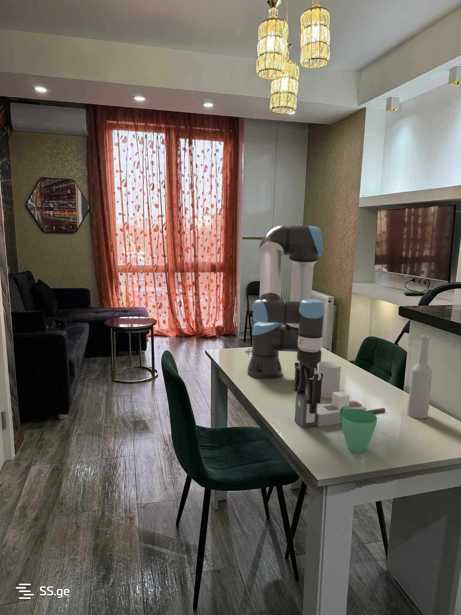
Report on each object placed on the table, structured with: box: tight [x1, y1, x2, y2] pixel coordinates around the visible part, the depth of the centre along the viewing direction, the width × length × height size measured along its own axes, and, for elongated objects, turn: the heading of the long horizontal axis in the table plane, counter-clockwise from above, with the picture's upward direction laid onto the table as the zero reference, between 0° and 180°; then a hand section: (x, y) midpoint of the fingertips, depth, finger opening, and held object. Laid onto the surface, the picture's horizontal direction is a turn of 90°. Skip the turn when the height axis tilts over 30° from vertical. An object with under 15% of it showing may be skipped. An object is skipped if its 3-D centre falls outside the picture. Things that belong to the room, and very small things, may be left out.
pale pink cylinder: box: [318, 360, 342, 399], centre depth 163 cm, size 8×8×12 cm
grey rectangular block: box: [294, 392, 318, 428], centre depth 137 cm, size 5×8×9 cm, turn 111°
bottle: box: [406, 334, 433, 420], centre depth 144 cm, size 7×7×28 cm
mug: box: [341, 406, 378, 454], centre depth 124 cm, size 15×10×10 cm
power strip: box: [315, 400, 386, 427], centre depth 143 cm, size 7×29×5 cm, turn 111°
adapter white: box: [331, 390, 350, 410], centre depth 141 cm, size 4×4×4 cm
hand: (305, 418), depth 137 cm, fingers closed on grey rectangular block, 5 cm apart
